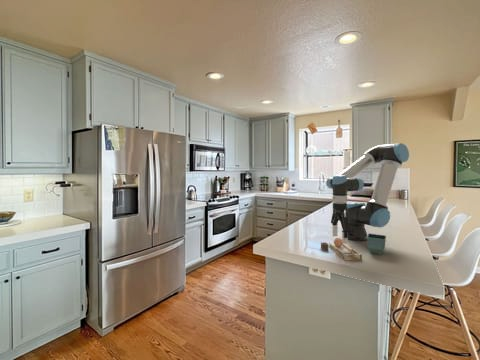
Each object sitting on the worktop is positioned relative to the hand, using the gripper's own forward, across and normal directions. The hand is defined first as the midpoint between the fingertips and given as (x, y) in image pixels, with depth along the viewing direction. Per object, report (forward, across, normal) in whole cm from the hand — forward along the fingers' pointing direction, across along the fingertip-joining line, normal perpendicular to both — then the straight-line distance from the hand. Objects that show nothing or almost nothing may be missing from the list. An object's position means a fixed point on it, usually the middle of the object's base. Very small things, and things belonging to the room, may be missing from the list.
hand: (339, 239), depth 139 cm
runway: (+5, +2, -1) cm, 6 cm away
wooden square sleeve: (+5, +1, -9) cm, 11 cm away
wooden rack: (+5, +13, -1) cm, 14 cm away
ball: (+2, -1, 0) cm, 2 cm away
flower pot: (+6, +6, +17) cm, 19 cm away
